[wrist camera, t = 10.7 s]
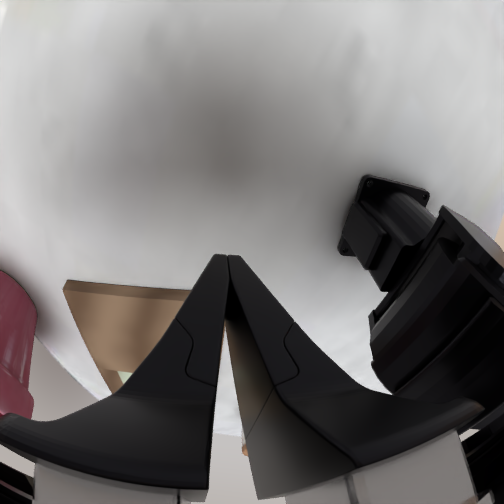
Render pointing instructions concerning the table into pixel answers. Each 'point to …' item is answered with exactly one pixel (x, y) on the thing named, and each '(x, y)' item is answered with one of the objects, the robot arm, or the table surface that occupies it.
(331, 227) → the table surface
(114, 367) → the walnut board
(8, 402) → the plant pot
